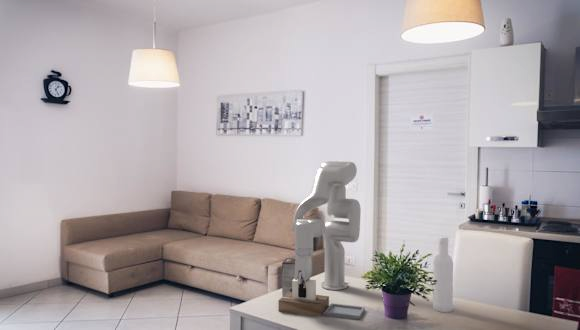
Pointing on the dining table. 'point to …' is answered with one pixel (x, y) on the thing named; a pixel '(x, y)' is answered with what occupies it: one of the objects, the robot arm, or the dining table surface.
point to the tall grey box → (287, 275)
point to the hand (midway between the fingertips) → (304, 295)
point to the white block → (309, 287)
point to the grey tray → (344, 311)
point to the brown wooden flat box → (304, 305)
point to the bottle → (443, 278)
